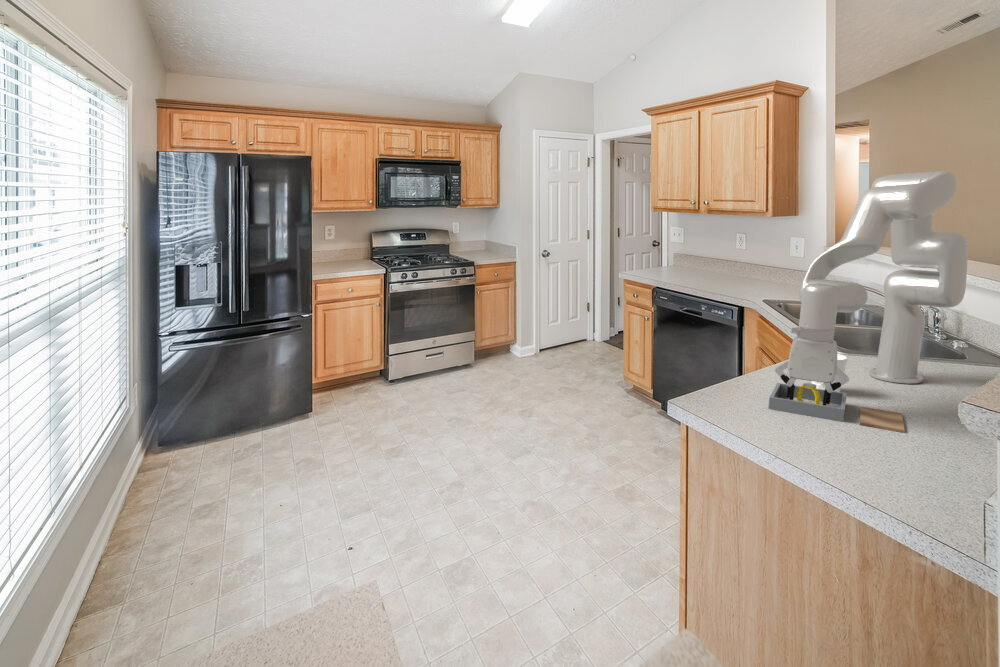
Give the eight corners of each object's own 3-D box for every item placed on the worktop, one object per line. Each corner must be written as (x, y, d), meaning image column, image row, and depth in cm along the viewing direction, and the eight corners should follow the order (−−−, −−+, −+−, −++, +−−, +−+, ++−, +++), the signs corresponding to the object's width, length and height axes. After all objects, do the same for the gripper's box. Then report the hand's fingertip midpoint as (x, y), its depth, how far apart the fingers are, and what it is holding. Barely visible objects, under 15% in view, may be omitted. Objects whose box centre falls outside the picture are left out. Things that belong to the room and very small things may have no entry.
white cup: (847, 396, 133) (852, 360, 131) (815, 395, 135) (819, 359, 133) (834, 387, 141) (839, 352, 139) (804, 385, 142) (808, 351, 140)
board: (860, 408, 125) (860, 406, 124) (901, 415, 120) (901, 413, 120) (859, 424, 115) (860, 422, 115) (904, 432, 110) (904, 430, 110)
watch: (820, 411, 125) (825, 388, 123) (811, 412, 124) (816, 390, 122) (801, 401, 130) (805, 380, 129) (792, 402, 130) (796, 381, 128)
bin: (776, 393, 137) (777, 382, 136) (845, 404, 128) (846, 393, 127) (768, 408, 126) (769, 397, 125) (843, 421, 117) (844, 409, 116)
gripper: (773, 333, 125) (766, 401, 129) (858, 341, 115) (848, 415, 119) (777, 328, 131) (771, 393, 135) (859, 335, 121) (849, 405, 125)
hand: (807, 402), depth 127 cm, fingers open, 6 cm apart
